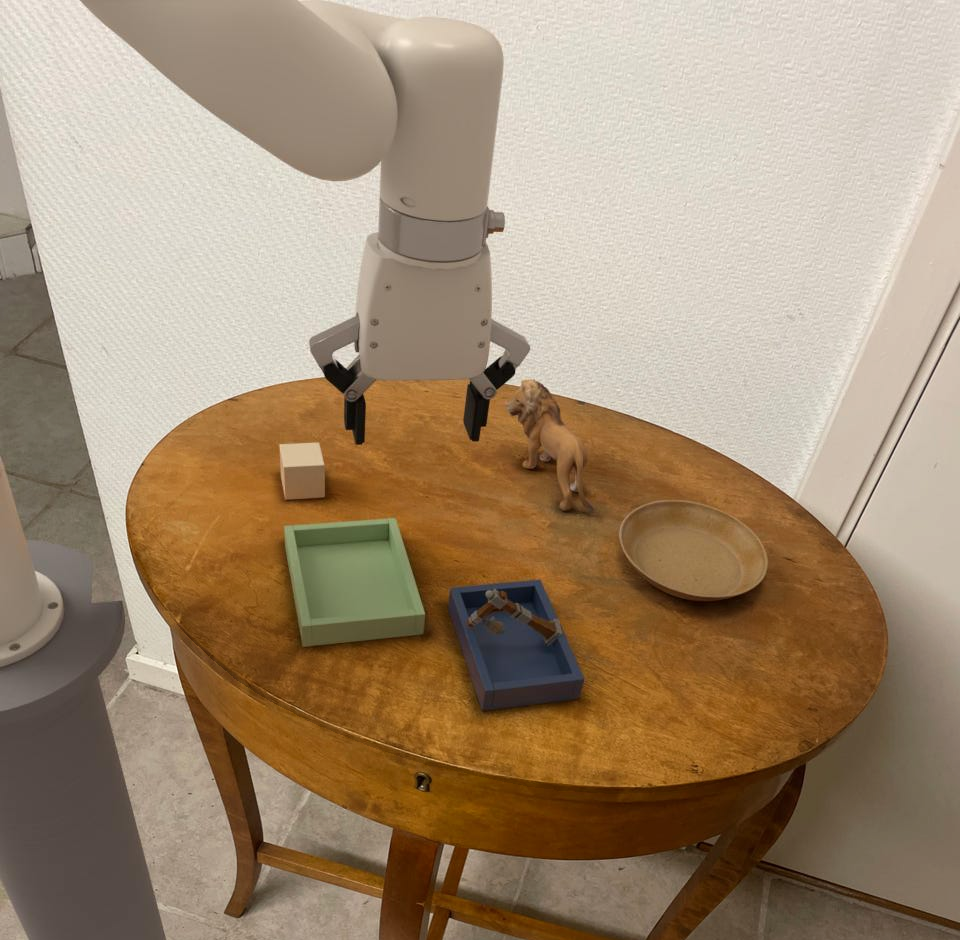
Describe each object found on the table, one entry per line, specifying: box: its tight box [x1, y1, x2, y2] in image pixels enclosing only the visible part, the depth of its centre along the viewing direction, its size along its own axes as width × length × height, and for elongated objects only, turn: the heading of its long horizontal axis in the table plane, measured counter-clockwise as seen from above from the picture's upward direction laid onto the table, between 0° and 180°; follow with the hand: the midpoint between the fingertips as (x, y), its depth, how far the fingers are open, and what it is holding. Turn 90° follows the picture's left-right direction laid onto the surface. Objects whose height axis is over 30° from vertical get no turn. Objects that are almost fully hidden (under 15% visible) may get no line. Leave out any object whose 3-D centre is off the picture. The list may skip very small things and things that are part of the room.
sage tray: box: [283, 517, 426, 648], centre depth 86 cm, size 11×14×2 cm
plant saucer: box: [618, 499, 769, 602], centre depth 94 cm, size 15×15×3 cm
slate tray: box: [447, 579, 585, 712], centre depth 83 cm, size 9×13×2 cm
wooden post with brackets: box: [466, 589, 562, 646], centre depth 81 cm, size 2×8×4 cm
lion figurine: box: [504, 378, 596, 514], centre depth 100 cm, size 15×5×9 cm, turn 35°
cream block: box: [279, 442, 326, 501], centre depth 96 cm, size 4×4×4 cm
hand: (414, 434), depth 79 cm, fingers open, 9 cm apart
